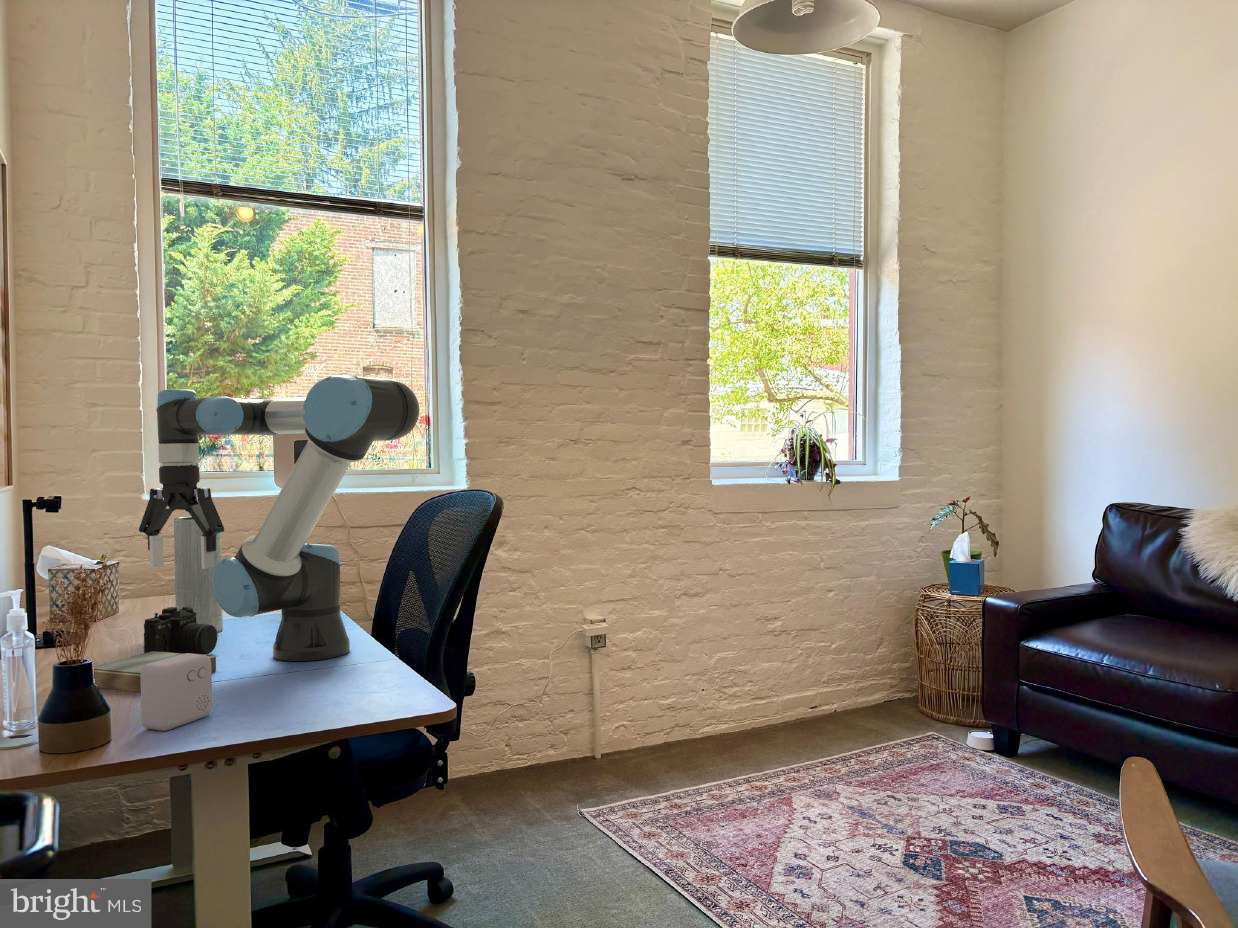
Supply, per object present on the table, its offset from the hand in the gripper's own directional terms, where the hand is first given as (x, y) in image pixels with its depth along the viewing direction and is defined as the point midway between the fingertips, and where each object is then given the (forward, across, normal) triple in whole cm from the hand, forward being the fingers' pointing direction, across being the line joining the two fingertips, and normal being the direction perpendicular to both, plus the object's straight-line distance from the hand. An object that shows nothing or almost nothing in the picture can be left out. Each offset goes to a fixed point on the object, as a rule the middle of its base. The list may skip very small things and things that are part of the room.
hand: (182, 567), depth 186 cm
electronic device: (+19, -36, +36) cm, 54 cm away
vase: (+18, +17, -21) cm, 33 cm away
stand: (+19, -8, +16) cm, 26 cm away
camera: (+19, 0, 0) cm, 19 cm away
